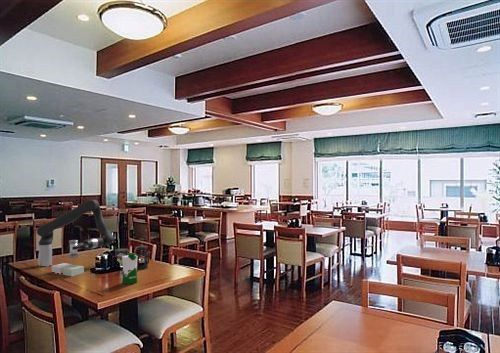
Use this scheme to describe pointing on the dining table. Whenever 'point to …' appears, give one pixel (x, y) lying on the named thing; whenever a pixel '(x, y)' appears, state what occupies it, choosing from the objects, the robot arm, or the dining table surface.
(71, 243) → the cylinder
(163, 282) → the dining table surface
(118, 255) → the coffee can
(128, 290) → the dining table surface
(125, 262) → the milk carton
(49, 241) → the robot arm
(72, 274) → the stand
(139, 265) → the french press
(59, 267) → the stand
